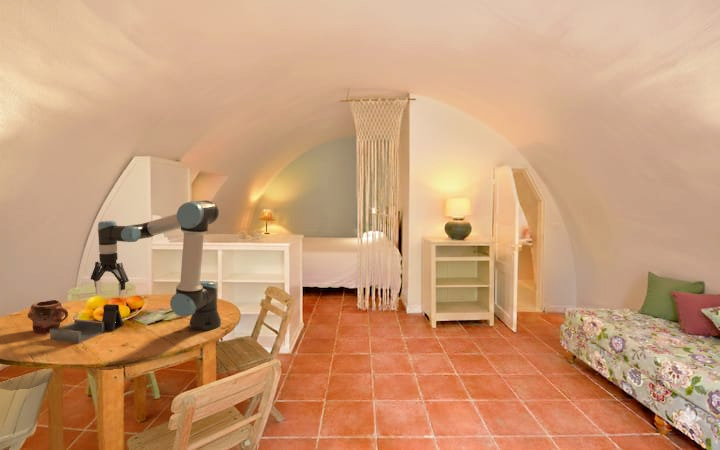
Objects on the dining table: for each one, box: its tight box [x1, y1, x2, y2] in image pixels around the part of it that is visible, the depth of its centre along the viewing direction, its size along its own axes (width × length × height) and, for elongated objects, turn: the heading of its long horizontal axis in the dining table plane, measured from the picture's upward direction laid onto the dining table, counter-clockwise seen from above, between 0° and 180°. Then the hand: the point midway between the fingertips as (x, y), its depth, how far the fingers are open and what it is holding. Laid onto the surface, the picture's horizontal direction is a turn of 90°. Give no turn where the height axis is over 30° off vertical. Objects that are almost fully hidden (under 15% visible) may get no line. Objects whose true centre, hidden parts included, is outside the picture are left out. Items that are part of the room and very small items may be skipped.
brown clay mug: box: [27, 299, 69, 335], centre depth 196 cm, size 20×12×14 cm, turn 89°
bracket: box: [49, 318, 106, 344], centre depth 191 cm, size 16×14×5 cm
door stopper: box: [101, 303, 124, 332], centre depth 201 cm, size 9×6×12 cm, turn 178°
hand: (110, 295), depth 200 cm, fingers open, 13 cm apart
